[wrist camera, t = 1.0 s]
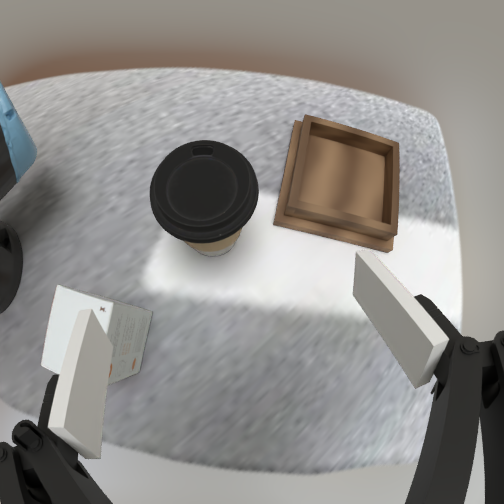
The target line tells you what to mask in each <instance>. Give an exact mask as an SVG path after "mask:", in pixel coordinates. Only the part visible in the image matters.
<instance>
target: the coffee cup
mask: <svg viewBox="0 0 504 504" xmlns="http://www.w3.org/2000/svg"><path fill="white" fill-rule="evenodd" d="M258 194H259V189H258V182H257V178H256V175H255V172H254V170H253V167H252V166H251V164H250V163H249V161H248V160H247V159H246V158H245V157H244V156H243V155H242V154H241V153H240V152H238V151H237V150H235V149H234V148H232V147H230V146H228V145H226V144H223V143H220V142H216V141H210V140H200V141H194V142H190V143H187V144H184V145H182V146H180V147H178V148H176V149H175V150H173V151H172V152H171V153H170V154H169V155H167V156H166V158H165V159H164V160H163V161H162V162H161V164H160V165H159V166H158V168H157V169H156V171H155V173H154V175H153V178H152V181H151V185H150V202H151V208H152V211H153V214H154V216H155V218H156V220H157V221H158V223H159V224H160V225H161V226H162V228H163V229H164V230H165V231H167V232H168V233H169V234H171V235H172V236H174V237H176V238H178V239H180V240H183V241H184V242H186V243H187V244H188V245H189V246H191V247H192V248H194V249H195V250H196V251H198V252H199V253H201V254H203V255H206V256H219V255H222V254H225V253H226V252H228V251H229V250H230V249H231V248H232V247H233V245H234V243H235V241H236V240H237V238H238V237H239V235H240V232H241V230H242V227H243V226H244V225H245V224H246V223H247V222H248V220H249V219H250V218H251V216H252V214H253V212H254V210H255V208H256V205H257V201H258Z"/></svg>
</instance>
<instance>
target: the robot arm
mask: <svg viewBox="0 0 504 504" xmlns="http://www.w3.org/2000/svg"><path fill="white" fill-rule="evenodd" d="M36 155H37V149H36V145H35V143H34V142H33V140H32V138H31V136H30V134H29V133H28V131H27V129H26V127H25V126H24V124H23V122H22V120H21V118H20V117H19V115H18V113H17V111H16V109H15V108H14V106H13V104H12V102H11V100H10V98H9V96H8V95H7V93H6V91H5V89H4V87H3V85H2V84H1V82H0V200H1V199H2V198H3V197H4V196H5V195H6V194H7V193H8V192H9V191H10V190H11V189H12V188H13V187H14V185H15V184H17V183H18V182H19V181H20V178H21V177H22V176H23V174H24V173H25V172H26V171H27V170H28V169H29V168H30V167H31V165H32V164H33V163H34V161H35V158H36ZM21 272H22V250H21V245H20V241H19V239H18V236H17V234H16V233H15V231H14V230H13V229H12V228H11V227H10V226H9V225H7V224H6V223H4V222H2V221H0V313H2V312H3V311H4V310H5V309H6V308H7V307H8V306H9V304H10V303H11V302H12V300H13V298H14V296H15V294H16V292H17V289H18V286H19V282H20V278H21ZM353 296H354V297H355V299H356V300H357V302H358V303H359V305H360V306H361V307H362V309H363V310H364V312H365V313H366V315H367V316H368V318H369V319H370V321H371V322H372V323H373V325H374V326H375V328H376V329H377V331H378V332H379V334H380V335H381V337H382V338H383V340H384V341H385V343H386V344H387V346H388V347H389V349H390V350H391V352H392V353H393V355H394V356H395V358H396V359H397V361H398V363H399V364H400V366H401V367H402V369H403V370H404V372H405V373H406V375H407V377H408V378H409V380H410V381H411V383H412V384H413V386H414V388H415V389H416V388H418V387H420V386H422V385H424V384H427V383H429V382H430V380H431V378H432V376H433V374H434V375H435V376H436V378H437V381H436V383H435V385H434V387H433V389H432V391H431V394H433V393H434V397H433V402H432V407H431V412H430V417H429V422H428V426H427V431H426V435H425V439H424V443H423V447H422V451H421V455H420V458H419V462H418V465H417V469H416V472H415V475H414V478H413V481H412V485H411V488H410V491H409V493H408V497H407V499H406V502H405V504H464V501H465V497H466V492H467V489H468V484H469V480H470V475H471V471H472V465H473V460H474V454H475V448H476V441H477V434H478V425H479V416H480V423H481V432H482V442H483V454H484V471H485V504H504V331H500V332H498V333H497V334H496V336H495V338H494V340H492V341H485V342H478V341H477V340H475V339H474V338H471V337H463V336H462V335H461V334H460V333H459V332H458V330H457V329H456V328H455V327H454V326H453V325H452V323H451V322H450V321H449V320H448V319H447V318H446V317H445V315H443V314H442V312H441V311H440V310H439V309H437V306H436V305H435V304H434V303H433V302H432V301H431V300H430V299H428V298H427V297H425V296H423V295H421V294H420V295H417V296H415V297H413V296H412V294H411V293H410V292H409V291H408V290H407V289H406V288H405V287H404V285H403V284H402V283H401V282H400V281H399V280H398V279H397V278H396V277H395V276H394V274H393V273H392V272H391V271H390V270H389V269H388V268H387V267H386V266H385V265H384V264H383V263H382V262H381V260H380V259H379V258H378V257H377V256H376V255H375V254H374V253H373V252H372V251H371V250H370V249H365V250H361V251H357V252H356V258H355V273H354V286H353ZM112 352H113V345H112V344H111V342H110V340H109V338H108V337H107V335H106V333H105V331H104V330H103V328H102V326H101V324H100V323H99V321H98V319H97V317H96V315H95V313H94V311H93V309H92V308H91V309H85V310H80V311H79V312H78V315H77V318H76V321H75V324H74V327H73V330H72V333H71V337H70V340H69V343H68V346H67V350H66V353H65V357H64V360H63V364H62V367H61V371H60V374H58V375H53V376H52V378H51V379H50V381H49V382H48V384H47V388H46V392H45V396H44V400H43V402H44V403H43V404H42V408H41V412H40V417H39V421H38V426H36V425H35V424H34V423H33V422H32V421H29V420H22V421H21V422H19V423H18V424H17V425H16V426H15V427H14V429H13V431H12V440H13V443H15V444H16V445H17V446H15V447H12V446H10V445H9V444H8V443H6V442H0V502H1V504H113V503H112V502H111V501H110V500H109V499H108V497H107V496H106V495H105V494H104V493H103V491H102V490H101V489H100V488H99V486H98V485H97V484H96V482H95V481H94V480H93V478H92V477H91V476H90V474H89V473H88V472H87V470H86V469H85V468H84V466H83V465H82V463H81V462H80V461H78V453H79V454H80V455H82V456H83V457H84V458H85V459H101V445H102V432H103V421H104V411H105V402H106V394H107V386H108V378H109V371H110V365H111V358H112Z"/></svg>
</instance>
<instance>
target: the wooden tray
mask: <svg viewBox="0 0 504 504" xmlns="http://www.w3.org/2000/svg"><path fill="white" fill-rule="evenodd" d="M398 212H399V143H397V142H395V141H392V140H389V139H386V138H383V137H380V136H377V135H374V134H371V133H368V132H365V131H362V130H359V129H356V128H352V127H349V126H346V125H342V124H339V123H336V122H332V121H328V120H325V119H321V118H317V117H313V116H310V115H306V114H305V116H304V119H303V122H301V121H297V120H295V122H294V126H293V131H292V136H291V141H290V146H289V151H288V156H287V161H286V166H285V170H284V175H283V180H282V185H281V190H280V195H279V199H278V204H277V209H276V214H275V218H274V223H273V225H277V226H281V227H285V228H290V229H294V230H298V231H302V232H307V233H311V234H315V235H319V236H323V237H327V238H331V239H335V240H339V241H343V242H348V243H352V244H355V245H359V246H363V247H367V248H371V249H375V250H379V251H383V252H387V253H388V252H390V251H392V250H393V241H394V236H396V235H397V230H398Z"/></svg>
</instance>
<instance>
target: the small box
mask: <svg viewBox="0 0 504 504" xmlns="http://www.w3.org/2000/svg"><path fill="white" fill-rule="evenodd" d="M91 308H92V309H93V311H94V313H95V315H96V317H97V319H98V321H99V323H100V324H101V326H102V328H103V330H104V331H105V333H106V335H107V337H108V338H109V340H110V342H111V344H112V345H113V352H112V358H111V365H110V371H109V378H108V385H110V384H113V383H115V382H118V381H120V380H123V379H125V378H127V377H130V376H132V375H134V374H137V373H139V371H140V366H141V362H142V357H143V353H144V348H145V343H146V339H147V334H148V330H149V326H150V321H151V317H152V311H149V310H146V309H142V308H139V307H136V306H133V305H129V304H126V303H123V302H119V301H116V300H113V299H110V298H106V297H103V296H99V295H95V294H92V293H88V292H84V291H80V290H77V289H73V288H70V287H66V286H62V285H57V286H56V290H55V294H54V298H53V303H52V307H51V312H50V316H49V321H48V326H47V331H46V337H45V342H44V348H43V354H42V361H41V366H42V367H44V368H46V369H48V370H50V371H52V372H54V373H56V374H60V371H61V367H62V364H63V360H64V357H65V353H66V350H67V346H68V343H69V340H70V337H71V333H72V330H73V327H74V324H75V321H76V318H77V315H78V312H79V311H80V310H85V309H91Z"/></svg>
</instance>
